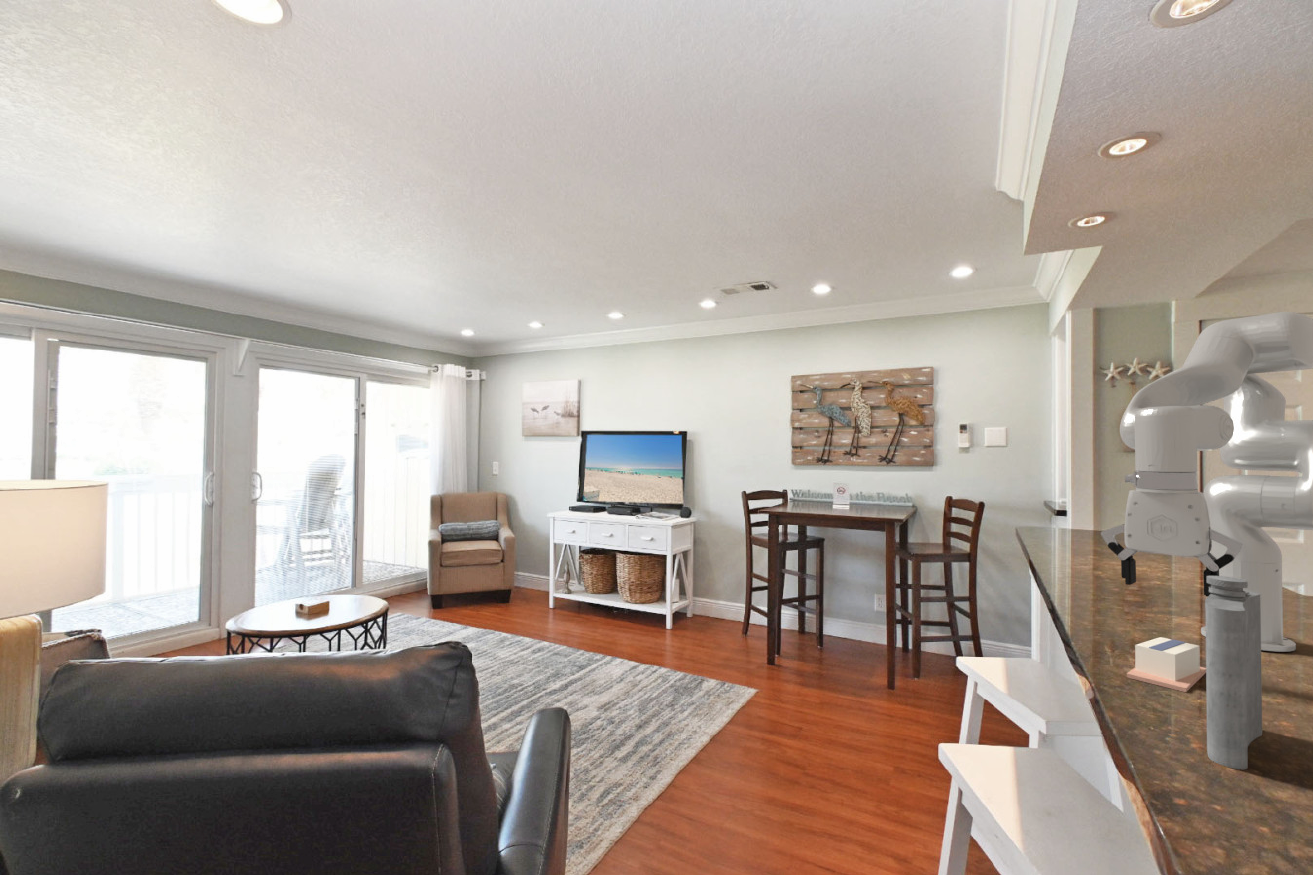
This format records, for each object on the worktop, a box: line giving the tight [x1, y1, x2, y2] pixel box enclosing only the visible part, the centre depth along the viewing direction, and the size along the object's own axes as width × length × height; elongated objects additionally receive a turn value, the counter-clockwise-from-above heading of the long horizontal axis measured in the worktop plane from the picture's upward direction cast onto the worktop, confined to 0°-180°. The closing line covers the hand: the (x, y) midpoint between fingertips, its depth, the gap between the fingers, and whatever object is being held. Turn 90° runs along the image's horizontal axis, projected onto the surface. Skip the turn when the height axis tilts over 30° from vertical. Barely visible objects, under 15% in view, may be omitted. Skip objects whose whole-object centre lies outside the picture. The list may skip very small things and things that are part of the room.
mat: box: [1126, 666, 1206, 693], centre depth 92 cm, size 14×7×1 cm, turn 127°
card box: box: [1134, 636, 1201, 681], centre depth 92 cm, size 5×9×4 cm, turn 119°
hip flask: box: [1204, 576, 1263, 771], centre depth 70 cm, size 16×4×20 cm, turn 129°
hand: (1168, 589), depth 93 cm, fingers open, 9 cm apart
